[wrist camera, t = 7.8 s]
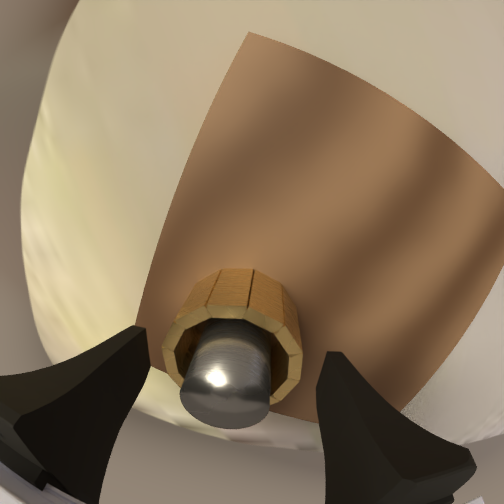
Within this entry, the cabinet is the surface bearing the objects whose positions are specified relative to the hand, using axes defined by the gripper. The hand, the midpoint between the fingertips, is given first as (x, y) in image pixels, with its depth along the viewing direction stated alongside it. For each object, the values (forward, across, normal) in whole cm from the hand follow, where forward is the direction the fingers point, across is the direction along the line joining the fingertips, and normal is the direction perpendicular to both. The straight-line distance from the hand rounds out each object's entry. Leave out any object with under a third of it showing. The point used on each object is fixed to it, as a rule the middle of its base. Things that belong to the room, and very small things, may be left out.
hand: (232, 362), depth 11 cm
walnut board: (+4, -5, -2) cm, 7 cm away
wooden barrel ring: (+3, 0, 0) cm, 3 cm away
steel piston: (+4, 0, 0) cm, 4 cm away
